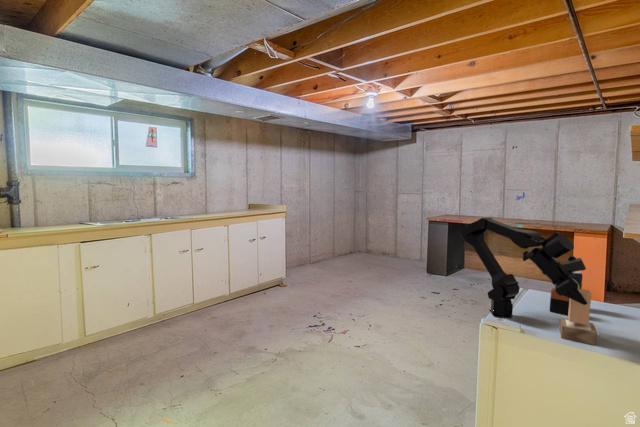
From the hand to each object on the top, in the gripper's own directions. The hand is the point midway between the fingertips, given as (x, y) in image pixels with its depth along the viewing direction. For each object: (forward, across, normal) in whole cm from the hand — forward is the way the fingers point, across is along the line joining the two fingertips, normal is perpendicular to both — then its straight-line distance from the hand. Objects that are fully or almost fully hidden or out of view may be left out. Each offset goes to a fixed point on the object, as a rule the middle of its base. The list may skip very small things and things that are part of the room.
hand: (584, 301), depth 112 cm
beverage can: (+8, +33, +9) cm, 35 cm away
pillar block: (+4, 0, +6) cm, 7 cm away
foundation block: (+8, 0, +9) cm, 12 cm away
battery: (+6, +23, +12) cm, 27 cm away
